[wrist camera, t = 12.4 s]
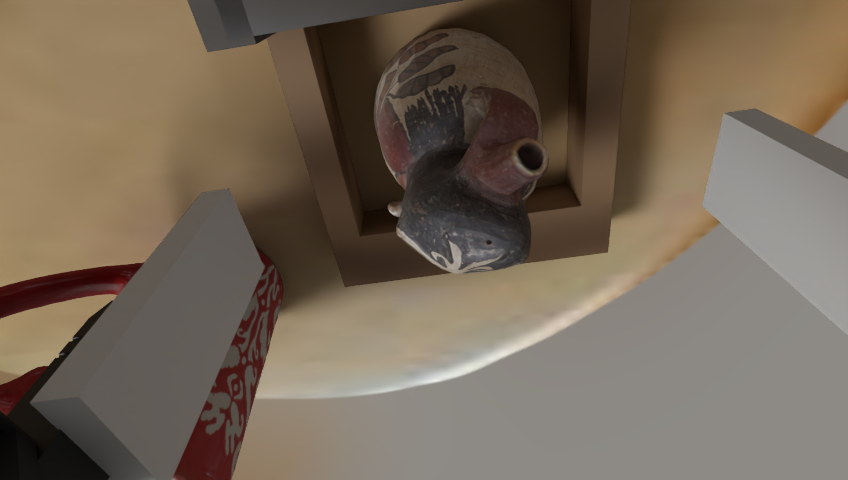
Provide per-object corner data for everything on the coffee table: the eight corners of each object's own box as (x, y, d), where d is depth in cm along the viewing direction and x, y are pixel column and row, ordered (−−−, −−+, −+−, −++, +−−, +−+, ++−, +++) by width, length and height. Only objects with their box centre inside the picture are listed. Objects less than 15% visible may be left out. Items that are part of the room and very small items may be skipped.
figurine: (351, 132, 22) (298, 283, 12) (424, -10, 19) (438, 31, 8) (471, 196, 24) (513, 372, 14) (555, 79, 21) (692, 197, 11)
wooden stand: (234, -134, 16) (108, -198, 10) (620, -209, 15) (781, -340, 9) (350, 260, 26) (328, 366, 19) (591, 227, 25) (657, 326, 18)
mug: (330, 274, 27) (267, 512, 15) (254, 355, 30) (157, 597, 19) (118, 143, 22) (-200, 343, 11) (58, 257, 25) (-228, 499, 14)
